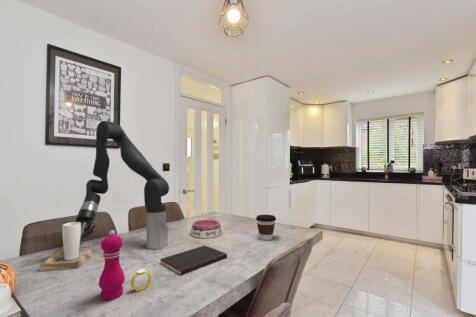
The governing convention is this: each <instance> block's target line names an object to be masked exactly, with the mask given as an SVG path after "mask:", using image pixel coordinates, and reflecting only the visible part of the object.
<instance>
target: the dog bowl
mask: <svg viewBox="0 0 476 317" xmlns="http://www.w3.org/2000/svg"><path fill="white" fill-rule="evenodd" d="M189 235H190V237H191V238H194V239H201V240H202V239H203V240H207V239H214V238H215V239H216V238H218V237H220V236H222V235H223V231H222V227H221V223H220V221H219V220H215V219H201V220H196V221H194V222H193V223H192V225H191V229H190V234H189Z"/></svg>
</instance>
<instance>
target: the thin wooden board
mask: <svg viewBox="0 0 476 317" xmlns="http://www.w3.org/2000/svg"><path fill="white" fill-rule="evenodd" d="M95 253H96V252H95V247H91V248H90V249H89V250H87V251H86V252H85V253H84V254H82V256H81V257H78V258H77V260H76V261H75V260H74V261H73V260H71V261H63V262H58V261H59V260H60V259H62V258H63V257H64V249H62V250H60V251H58V252H57V253H55V254H54V255H52V256H51V257H49V258H48V259H46V260H45V261H44V262H42V263H40V264H39V268H38V269H39V272H47V271H48V272H49V271H60V270H75V269H79V268H80V267H82V265H84V264H85V263H86V262H87V261H88V260H90V258H91V257H93V256H94V254H95Z"/></svg>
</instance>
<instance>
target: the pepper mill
mask: <svg viewBox="0 0 476 317" xmlns="http://www.w3.org/2000/svg"><path fill="white" fill-rule="evenodd" d="M123 244H124V243H123V239H122V237H121V236H120V235H118V234H116V230H113V229H111V230H109V232H108V235H107V236H106V237H104V238H103V239H102V241H101V244H100V247H101V250H102V251H103V253H102V254H103V255H102V257H103V259H104V266H103V268H102V269H103V270H102V272H101V274H100V277H99V280H98V287H99V288H100V299H101V300H103V301H111V300H116V299H117V298H120V297H121V296H122V295H123V293H124V286H123V284H124V283H125V281H126V277H125V273H124V271H123V269H122V267H121V263H120V256H121V255H122V253H121V252H122V250H121V248H122V246H123Z"/></svg>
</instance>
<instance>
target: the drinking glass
mask: <svg viewBox="0 0 476 317" xmlns="http://www.w3.org/2000/svg"><path fill="white" fill-rule="evenodd" d="M61 233H62V245H63V250H64V256H63V257H64V260H65V261H73V260H74V261H75V260H76V259H79V258H80V246H81V243H80V237H81V223H80V222H75V221H71V222H67V223H63V224H62V227H61Z"/></svg>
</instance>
